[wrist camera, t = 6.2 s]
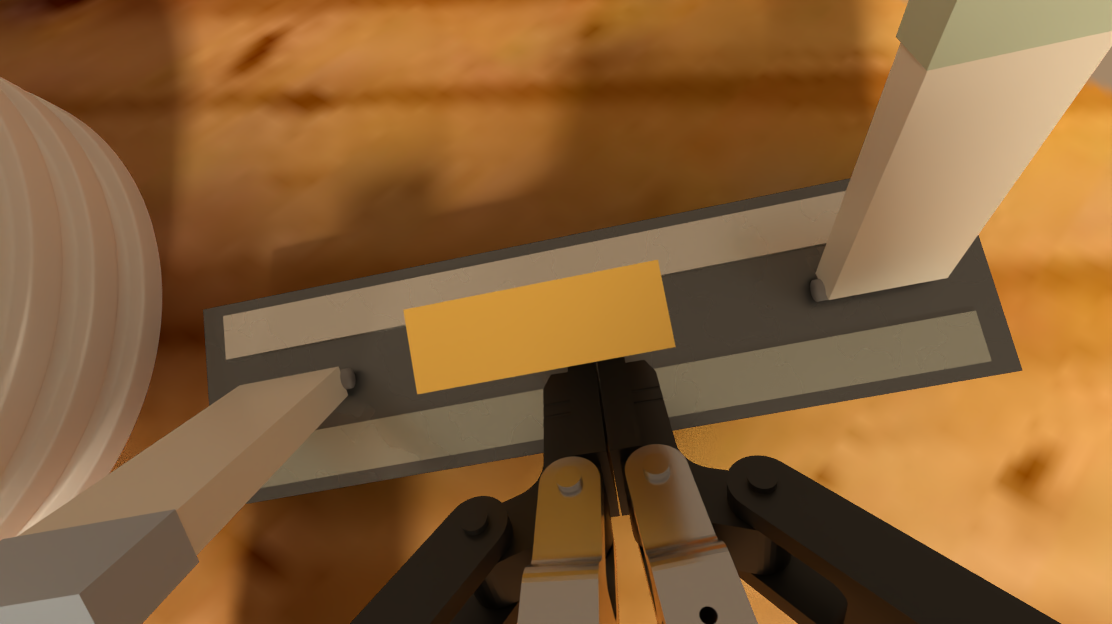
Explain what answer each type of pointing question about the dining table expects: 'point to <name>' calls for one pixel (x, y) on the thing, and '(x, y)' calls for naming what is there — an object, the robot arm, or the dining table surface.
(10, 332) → the plate stack
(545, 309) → the lever amber
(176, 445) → the lever slate
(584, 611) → the robot arm
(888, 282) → the lever sage
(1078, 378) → the dining table surface
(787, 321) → the switch strip
